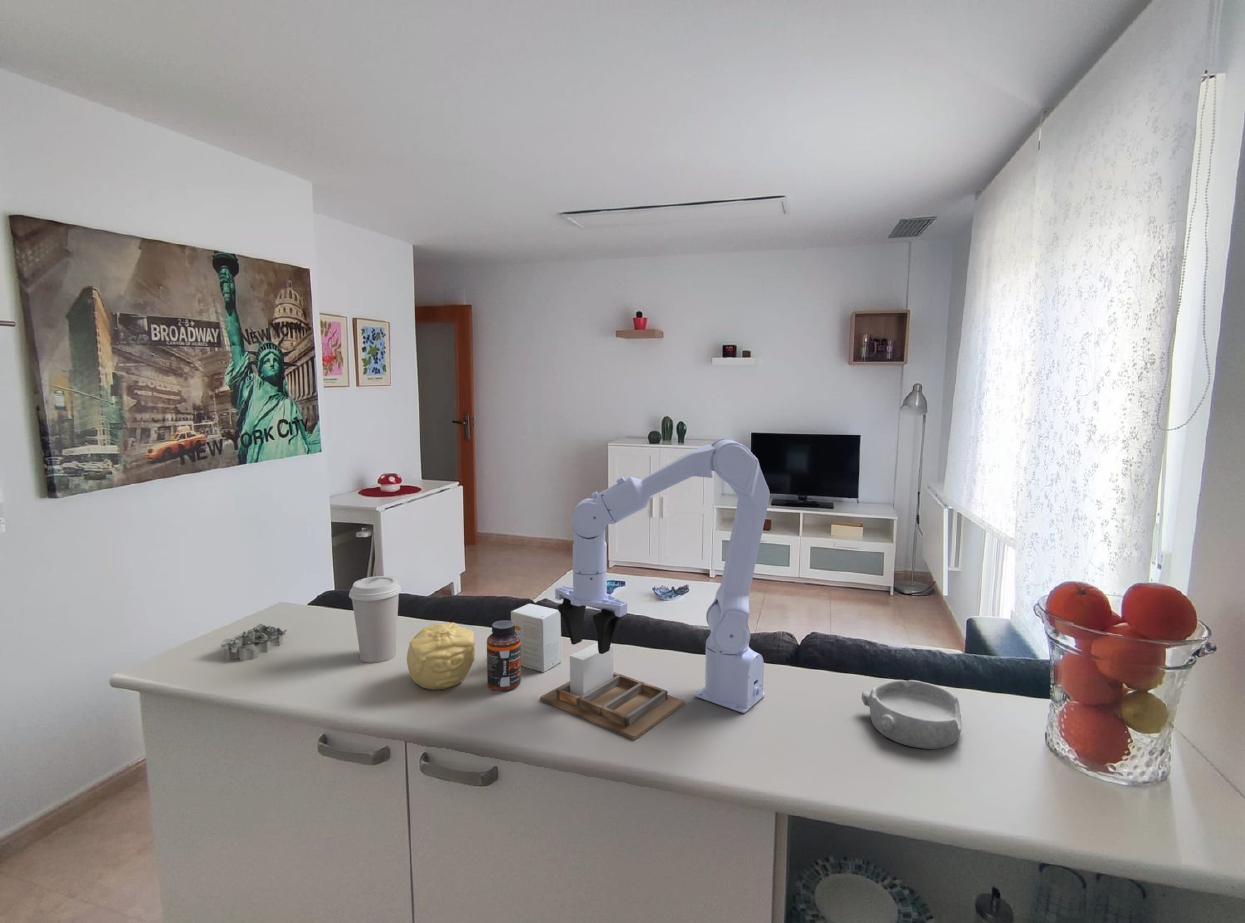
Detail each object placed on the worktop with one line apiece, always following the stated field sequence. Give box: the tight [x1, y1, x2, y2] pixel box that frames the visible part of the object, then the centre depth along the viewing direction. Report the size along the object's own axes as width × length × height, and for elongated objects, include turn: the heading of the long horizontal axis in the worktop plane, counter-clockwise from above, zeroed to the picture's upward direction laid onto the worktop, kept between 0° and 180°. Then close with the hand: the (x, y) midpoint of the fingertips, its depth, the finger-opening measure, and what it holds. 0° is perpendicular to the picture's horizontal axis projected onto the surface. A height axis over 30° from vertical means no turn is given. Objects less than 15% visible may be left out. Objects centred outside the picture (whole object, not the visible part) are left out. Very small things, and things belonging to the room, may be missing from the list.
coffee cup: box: [348, 575, 402, 664], centre depth 124 cm, size 10×10×15 cm
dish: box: [861, 679, 963, 750], centre depth 99 cm, size 14×14×5 cm
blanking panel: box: [569, 641, 614, 697], centre depth 109 cm, size 3×8×7 cm, turn 143°
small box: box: [510, 603, 563, 673], centre depth 121 cm, size 8×6×10 cm
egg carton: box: [219, 623, 288, 662], centre depth 127 cm, size 11×8×4 cm
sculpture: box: [406, 622, 476, 691], centre depth 113 cm, size 12×12×11 cm
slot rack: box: [539, 671, 685, 741], centre depth 106 cm, size 20×14×2 cm
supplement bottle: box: [486, 620, 522, 692], centre depth 112 cm, size 6×6×11 cm
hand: (590, 647), depth 109 cm, fingers open, 6 cm apart
